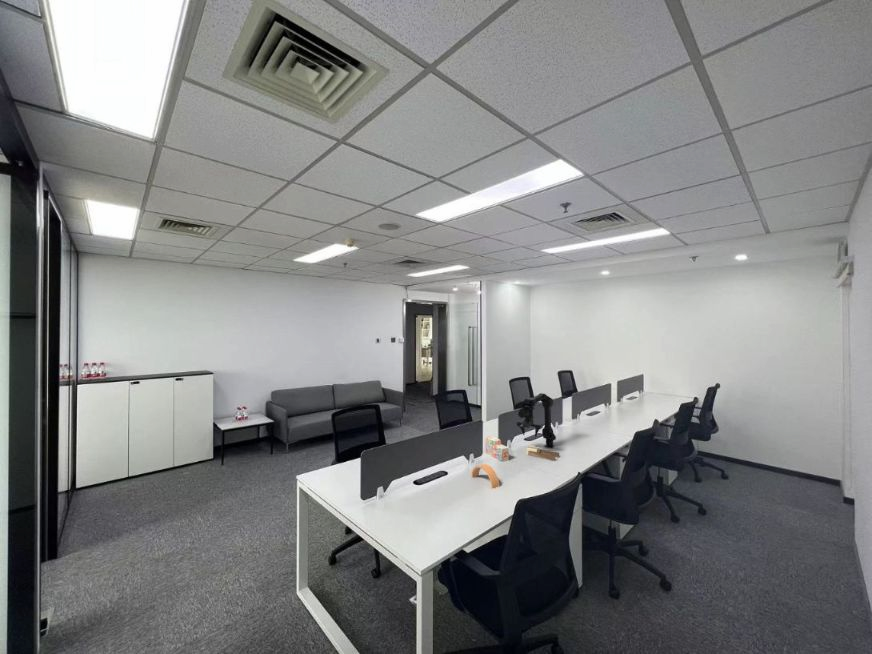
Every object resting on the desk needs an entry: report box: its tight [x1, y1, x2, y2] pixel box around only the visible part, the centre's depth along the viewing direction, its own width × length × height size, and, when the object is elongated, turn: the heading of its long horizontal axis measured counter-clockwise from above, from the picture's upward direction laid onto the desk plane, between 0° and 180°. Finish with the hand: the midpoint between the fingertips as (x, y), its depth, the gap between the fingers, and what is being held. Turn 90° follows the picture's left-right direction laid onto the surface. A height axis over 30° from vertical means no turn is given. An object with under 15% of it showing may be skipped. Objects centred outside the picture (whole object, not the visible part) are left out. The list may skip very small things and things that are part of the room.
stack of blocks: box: [484, 435, 510, 462], centre depth 261 cm, size 21×6×12 cm, turn 25°
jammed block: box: [526, 445, 541, 455], centre depth 265 cm, size 6×8×4 cm
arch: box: [470, 463, 500, 490], centre depth 217 cm, size 6×20×10 cm, turn 33°
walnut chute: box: [527, 448, 560, 462], centre depth 260 cm, size 10×20×3 cm, turn 52°
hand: (529, 436), depth 264 cm, fingers open, 9 cm apart
